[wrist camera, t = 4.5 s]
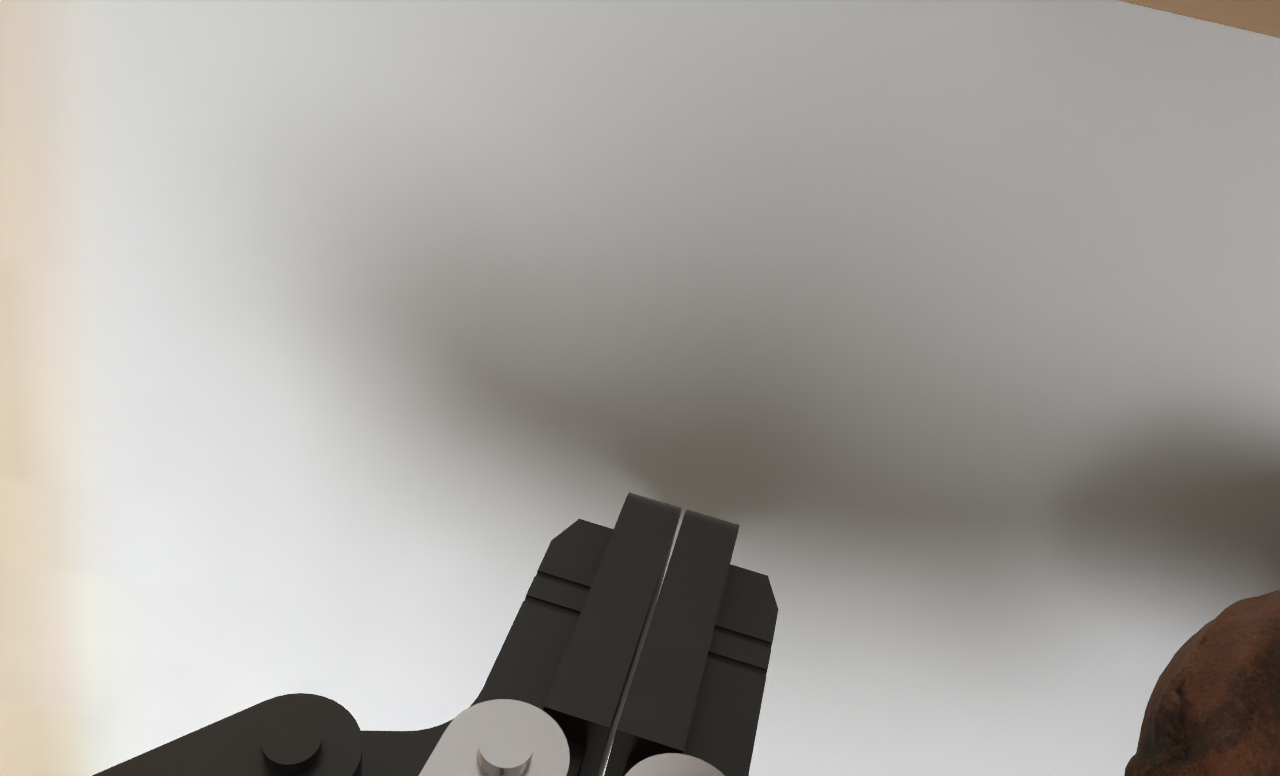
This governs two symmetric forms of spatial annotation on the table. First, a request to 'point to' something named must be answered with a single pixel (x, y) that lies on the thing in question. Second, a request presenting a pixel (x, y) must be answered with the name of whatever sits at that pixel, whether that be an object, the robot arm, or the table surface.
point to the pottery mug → (1218, 700)
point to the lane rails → (1225, 12)
